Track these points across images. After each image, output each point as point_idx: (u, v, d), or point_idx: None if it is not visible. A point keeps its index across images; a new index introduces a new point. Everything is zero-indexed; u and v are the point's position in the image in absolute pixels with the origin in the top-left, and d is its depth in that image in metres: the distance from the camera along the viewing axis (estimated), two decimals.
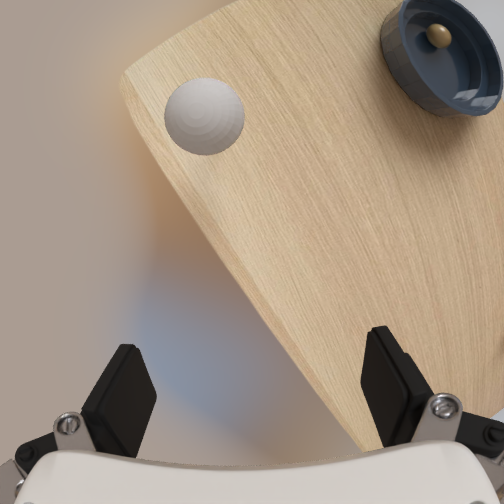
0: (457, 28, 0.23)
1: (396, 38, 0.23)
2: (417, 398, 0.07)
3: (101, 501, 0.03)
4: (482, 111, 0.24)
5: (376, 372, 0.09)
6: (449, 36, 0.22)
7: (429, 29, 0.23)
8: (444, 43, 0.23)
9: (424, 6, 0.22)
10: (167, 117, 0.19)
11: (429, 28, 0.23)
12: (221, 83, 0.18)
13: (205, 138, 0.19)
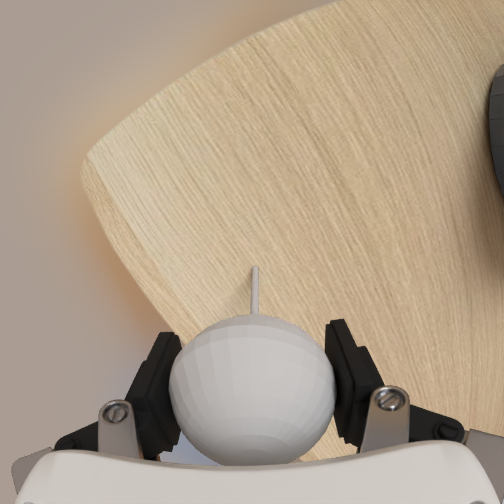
0: None
1: None
2: (363, 389, 0.08)
3: (101, 501, 0.03)
4: None
5: (332, 363, 0.10)
6: None
7: None
8: None
9: None
10: (180, 427, 0.08)
11: None
12: (303, 369, 0.08)
13: None
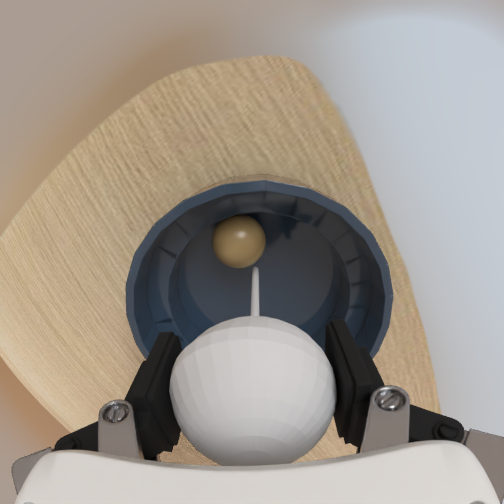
0: None
1: None
2: (363, 389, 0.08)
3: (101, 501, 0.03)
4: None
5: (332, 363, 0.10)
6: (231, 233, 0.18)
7: None
8: (225, 255, 0.19)
9: (220, 205, 0.18)
10: (181, 428, 0.08)
11: None
12: (303, 370, 0.08)
13: None
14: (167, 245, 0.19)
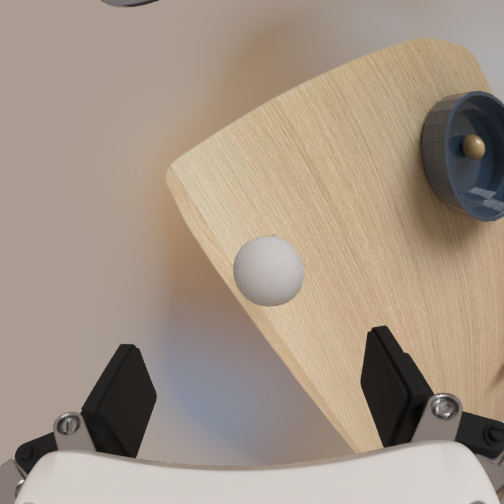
0: (491, 121, 0.28)
1: (439, 152, 0.28)
2: (417, 398, 0.07)
3: (101, 501, 0.03)
4: (500, 214, 0.29)
5: (376, 372, 0.09)
6: (477, 159, 0.30)
7: (470, 144, 0.28)
8: (468, 157, 0.31)
9: (466, 102, 0.27)
10: (237, 280, 0.24)
11: (471, 142, 0.28)
12: (286, 250, 0.23)
13: (272, 303, 0.23)
14: None
